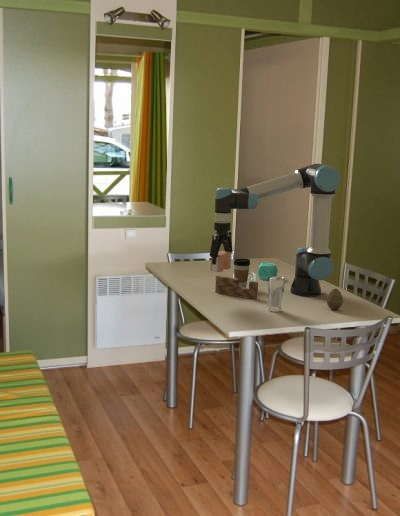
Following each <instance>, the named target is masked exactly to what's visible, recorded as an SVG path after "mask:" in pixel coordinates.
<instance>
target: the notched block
mask: <svg viewBox="0 0 400 516" xmlns="http://www.w3.org/2000/svg"><path fill="white" fill-rule="evenodd" d="M217 257H218V271H217V273H222V272H224V270H227V271H228V270H230V269H231V266H232V265H231V262H232V254H231V252H228V251H225V250H219V253H218V256H217ZM210 272H213V271H212V257H210ZM214 272H215V273H216V271H214Z"/></svg>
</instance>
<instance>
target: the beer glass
mask: <svg viewBox="0 0 400 516" xmlns="http://www.w3.org/2000/svg"><path fill="white" fill-rule="evenodd" d="M284 291H285V277H282V276H276V277H270V279H269V280H268V299H269V304H268V308H267V310H268V312H271V311H272V312H271V313H281V312H282V299H283V297H284ZM280 311H281V312H280Z"/></svg>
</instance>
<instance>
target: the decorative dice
mask: <svg viewBox="0 0 400 516" xmlns="http://www.w3.org/2000/svg"><path fill="white" fill-rule="evenodd" d="M278 271H279V269H278V267H277V265H276V264H275V263H273V262H261V263H260V264H259V266H258V269H257V276H258V277H259V279H260V280H264V281H269V279H270V277H278Z"/></svg>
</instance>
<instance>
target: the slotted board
mask: <svg viewBox="0 0 400 516" xmlns="http://www.w3.org/2000/svg"><path fill="white" fill-rule="evenodd" d="M214 288H215V290H214V292H215V293H220V294H225V295H230V296H235V297H240V298H241V297H242V298H247V299H250V300H251V299H252V300H257V299H258V297H259V296H258V294H259V293H258V292H259V282H258V281H255V280H254V281H253V280H251V281H248V287H246V288H242V287H239V279H237V278H234V277H231V276H230V277H229V276H224V275H218V274H217V275H216V276H215V287H214Z"/></svg>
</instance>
